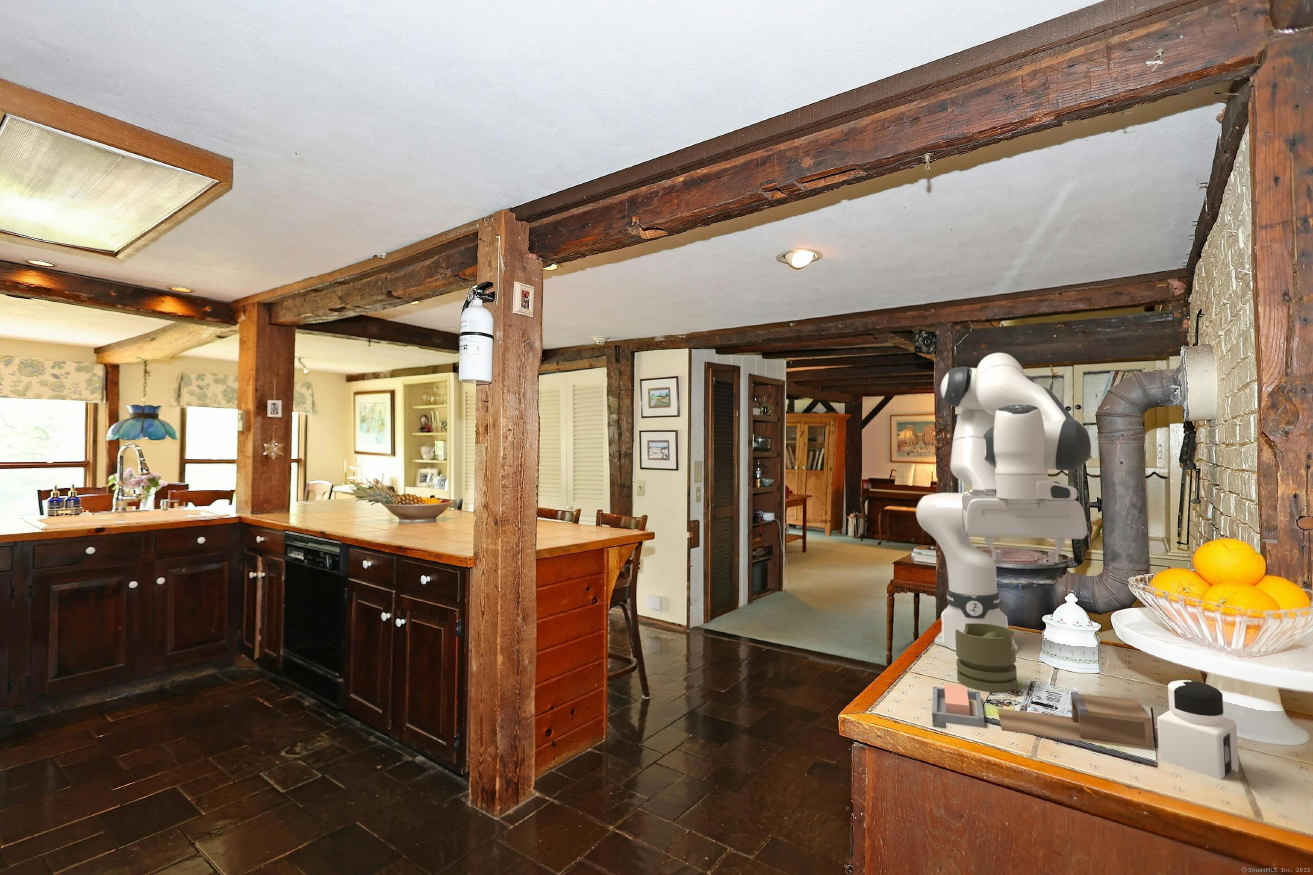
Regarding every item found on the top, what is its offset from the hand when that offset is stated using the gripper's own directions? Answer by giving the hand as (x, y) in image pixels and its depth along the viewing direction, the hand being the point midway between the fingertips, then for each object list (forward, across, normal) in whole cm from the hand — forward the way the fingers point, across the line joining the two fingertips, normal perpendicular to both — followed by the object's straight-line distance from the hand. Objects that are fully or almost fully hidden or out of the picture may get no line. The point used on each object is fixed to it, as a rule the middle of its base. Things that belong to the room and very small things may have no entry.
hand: (1024, 561), depth 121 cm
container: (+29, +21, -14) cm, 39 cm away
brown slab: (+29, +5, -7) cm, 30 cm away
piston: (+29, -7, +12) cm, 32 cm away
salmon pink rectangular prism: (+28, -13, -5) cm, 32 cm away
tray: (+29, -13, -5) cm, 32 cm away
